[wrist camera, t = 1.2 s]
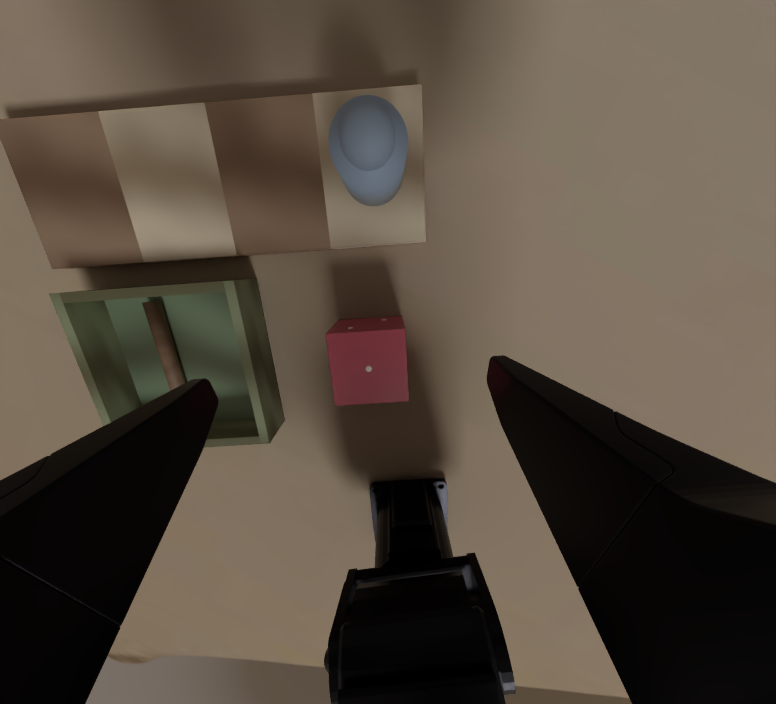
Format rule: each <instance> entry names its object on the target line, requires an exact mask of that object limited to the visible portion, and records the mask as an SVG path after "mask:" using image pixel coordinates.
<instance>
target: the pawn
mask: <svg viewBox="0 0 776 704" xmlns="http://www.w3.org/2000/svg"><path fill="white" fill-rule="evenodd" d="M328 141H329V151H330V155H331V159H332V161H333V164H334V166H335V167H336V169H337V171H338V173H339V175H340V177H341V179H342V181H343V183H344V185H345V187H346V188H347V190H348V192H349V193H350V195H351V196H352V197H353V198H354V199H355V200H357V201H358V202H360V203H362V204H364V205H367V206H380V205H383V204H385V203H387V202H389V201H390V200H391V199H392V198H394V196H395V195H396V194H397V192H398V191H399V189H400V187H401V184H402V181H403V176H404V170H405V164H406V158H407V153H408V133H407V128H406V125H405V122H404V120H403V118H402V116H401V115H400V113H399V112H398V110H397V109H396V108H395V107H394V106H393V105H392V104H391V103H390V102H388V101H387V100H385V99H383V98H381V97H378V96H374V95H362V96H357V97H354V98H352V99H351V100H349V101H347V102H346V103H345V104H344V105H343V106H342V107H341V108H340V109H339V110H338V111H337V113H336V115H335V116H334V118H333V121H332V123H331V126H330V131H329V140H328Z"/></svg>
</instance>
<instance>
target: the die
mask: <svg viewBox="0 0 776 704" xmlns="http://www.w3.org/2000/svg"><path fill="white" fill-rule="evenodd" d="M326 341H327V348H328V356H329V363H330V370H331V378H332V385H333V392H334V400H335V406H340V405H356V404H373V403H389V402H405V401H409V393H408V374H407V355H406V335H405V326H404V323H403V319H402V316H390V317H376V318H361V319H346V320H338V321H337V322H336V323H335V325H334V326H333V327H332V328H331V329H330V330H329V331H328V332H327V333H326Z"/></svg>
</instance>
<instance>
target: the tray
mask: <svg viewBox="0 0 776 704" xmlns="http://www.w3.org/2000/svg"><path fill="white" fill-rule="evenodd" d="M49 295H50V298H51V300H52V303H53V305H54V307H55V310H56V312H57V315H58V317H59V319H60V322H61V324H62V327H63V329H64V332H65V334H66V336H67V339H68V341H69V344H70V346H71V349H72V351H73V353H74V356H75V358H76V361H77V363H78V366H79V368H80V370H81V373H82V375H83V378H84V380H85V383H86V385H87V387H88V390H89V392H90V395H91V397H92V399H93V402H94V404H95V407H96V409H97V412H98V414H99V416H100V419H101V421H102V424H103V426H105V425H107V424H109V423H111V422H112V421H114V420H116V419H118V418H120V417H122V416H124V415H126V414H128V413H129V412H131V411H133V410H135V409H137V408H139V407H141V406H143V405H144V404H146V403H148V402H150V401H152V400H154V399H156V398H158V397H160V396H161V395H163V394H165V393H167V392H169V391H171V390H173V389H175V388H177V387H178V386H180V385H182V384H184V383H186V382H188V381H190V380H192V379H201V378H206V379H208V380H209V381H210V383H211V385H212V387H213V389H214V391H215V393H216V395H217V397H218V401H219V403H218V407H217V410H216V413H215V416H214V419H213V422H212V425H211V428H210V431H209V434H208V437H207V440H206V442H205V445H204V447H217V446H234V445H250V444H267V443H270V442H271V440H272V439H273V437H274V436H275V434H276V433H277V431H278V430H279V428H280V427H281V425H282V424H283V422H284V421H285V420H284V415H283V410H282V405H281V399H280V394H279V389H278V384H277V379H276V374H275V369H274V364H273V359H272V354H271V349H270V344H269V339H268V334H267V329H266V324H265V319H264V314H263V309H262V304H261V299H260V294H259V289H258V283H257V278H256V279H242V280H228V281H214V282H200V283H186V284H172V285H158V286H144V287H131V288H117V289H103V290H90V291H77V292H64V293H52V294H49Z"/></svg>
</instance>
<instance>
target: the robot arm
mask: <svg viewBox="0 0 776 704" xmlns="http://www.w3.org/2000/svg"><path fill="white" fill-rule="evenodd" d="M487 384H488V387H489V390H490V393H491V396H492V399H493V402H494V405H495V408H496V411H497V414H498V417H499V420H500V423H501V425H502V428H503V430H504V432H505V434H506V436H507V439H508V441H509V443H510V445H511V447H512V449H513V451H514V453H515V456H516V458H517V460H518V462H519V464H520V466H521V468H522V470H523V473H524V475H525V477H526V479H527V481H528V483H529V485H530V487H531V489H532V492H533V494H534V496H535V498H536V500H537V502H538V504H539V506H540V509H541V511H542V513H543V515H544V517H545V519H546V521H547V523H548V526H549V528H550V530H551V532H552V534H553V536H554V538H555V540H556V543H557V545H558V547H559V549H560V551H561V553H562V555H563V557H564V560H565V562H566V564H567V566H568V568H569V570H570V572H571V574H572V576H573V579H574V581H575V583H576V585H577V586H578V587H579V588H578V590H579V592H580V594H581V596H582V598H583V600H584V602H585V605H586V607H587V609H588V611H589V613H590V615H591V617H592V619H593V622H594V624H595V626H596V628H597V630H598V632H599V634H600V636H601V638H602V641H603V643H604V645H605V647H606V649H607V651H608V653H609V655H610V658H611V660H612V662H613V664H614V666H615V668H616V670H617V672H618V675H619V677H620V679H621V681H622V683H623V685H624V687H625V689H626V692H627V694H628V696H629V698H630V700H631V702H632V704H776V483H774V482H772V481H769V480H767V479H764V478H762V477H759V476H757V475H755V474H752V473H750V472H748V471H746V470H743V469H741V468H739V467H737V466H734V465H732V464H730V463H727V462H725V461H723V460H721V459H718V458H716V457H714V456H711V455H709V454H707V453H705V452H702V451H700V450H698V449H695V448H693V447H691V446H689V445H686V444H684V443H682V442H680V441H677V440H675V439H673V438H671V437H668V436H666V435H664V434H662V433H660V432H657V431H655V430H653V429H651V428H649V427H647V426H645V425H643V424H641V423H639V422H636V421H634V420H632V419H630V418H628V417H626V416H624V415H622V414H620V413H618V412H616V411H615V412H614V411H613V410H612V409H610V408H608V407H606V406H604V405H602V404H600V403H598V402H596V401H594V400H592V399H590V398H588V397H586V396H584V395H582V394H580V393H578V392H576V391H574V390H572V389H570V388H568V387H566V386H564V385H562V384H560V383H558V382H556V381H554V380H552V379H550V378H548V377H546V376H544V375H542V374H540V373H538V372H536V371H534V370H532V369H530V368H528V367H526V366H524V365H522V364H520V363H518V362H516V361H514V360H512V359H510V358H508V357H506V356H503V355H502V356H492V357H491V358H490V361H489V367H488V373H487ZM218 403H219V401H218V397H217V395H216V393H215V391H214V389H213V387H212V385H211V383H210V381H209V380H208V379H206V378H201V379H192V380H190V381H188V382H186V383H184V384H182V385H180V386H178V387H177V388H175V389H173V390H171V391H169V392H167V393H165V394H163V395H161V396H160V397H158V398H156V399H154V400H152V401H150V402H148V403H146V404H144V405H143V406H141V407H139V408H137V409H135V410H133V411H131V412H129V413H128V414H126V415H124V416H122V417H120V418H118V419H116V420H114V421H112V422H111V423H109V424H107V425H105V426H103V427H101V428H99V429H97V430H95V431H94V432H92V433H90V434H88V435H86V436H84V437H82V438H80V439H78V440H77V441H75V442H73V443H71V444H69V445H67V446H65V447H63V448H61V449H60V450H58V451H56V452H54V453H52V454H51V455H50V456H46V457H44V458H42V459H41V460H39V461H37V462H35V463H33V464H31V465H29V466H27V467H25V468H24V469H22V470H20V471H18V472H16V473H14V474H12V475H10V476H8V477H6V478H4V479H2V480H0V704H85V703H86V701H87V699H88V697H89V694H90V692H91V690H92V688H93V686H94V684H95V682H96V679H97V677H98V675H99V673H100V671H101V669H102V666H103V664H104V662H105V660H106V658H107V656H108V653H109V651H110V649H111V647H112V645H113V643H114V641H115V638H116V636H117V634H118V632H119V630H120V626H121V625H122V623H123V621H124V618H125V616H126V614H127V612H128V610H129V608H130V606H131V603H132V601H133V599H134V597H135V595H136V593H137V590H138V588H139V586H140V584H141V582H142V580H143V578H144V575H145V573H146V571H147V569H148V567H149V565H150V562H151V560H152V558H153V556H154V554H155V552H156V550H157V547H158V545H159V543H160V541H161V539H162V537H163V534H164V532H165V530H166V528H167V526H168V524H169V522H170V519H171V517H172V515H173V513H174V511H175V509H176V507H177V504H178V502H179V500H180V498H181V496H182V494H183V491H184V489H185V487H186V485H187V483H188V481H189V479H190V476H191V474H192V472H193V470H194V468H195V466H196V463H197V461H198V459H199V457H200V455H201V452H202V450H203V448H204V445H205V442H206V440H207V437H208V434H209V431H210V428H211V425H212V422H213V419H214V416H215V413H216V410H217V407H218ZM440 484H443V485H441V486H440ZM374 488H378V489H374ZM370 497H371V507H372V516H373V525H374V534H375V541H376V551H375V568H369V569H361V570H357V568H356V569H349V571H348V574H347V578H346V582H345V583H344V586H343V589H342V593H341V596H340V600H339V604H338V607H337V611H336V615H335V618H334V622H333V625H332V629H331V633H330V636H329V641H328V648H327V651H326V653H325V658H324V666H325V669H326V670H327V672H328V674H329V688H330V698H331V704H505V700H504V695H506V694H515V682H514V677H513V671H512V667H511V662H510V658H509V654H508V650H507V646H506V642H505V638H504V634H503V631H502V627H501V624H500V621H499V617H498V614H497V611H496V608H495V605H494V603H493V600H492V597H491V595H490V592H489V589H488V587H487V584H486V581H485V579H484V576H483V573H482V571H481V568H480V565H479V563H478V560H477V557H476V555H475V553H468V554H467V555H466V556H458V557H453V554H452V549H451V545H450V540H449V536H448V529H447V484H446V481H445V480H444V479H442V478H436V479H419V480H401V481H384V482H373V483H372V484H371V485H370Z"/></svg>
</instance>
